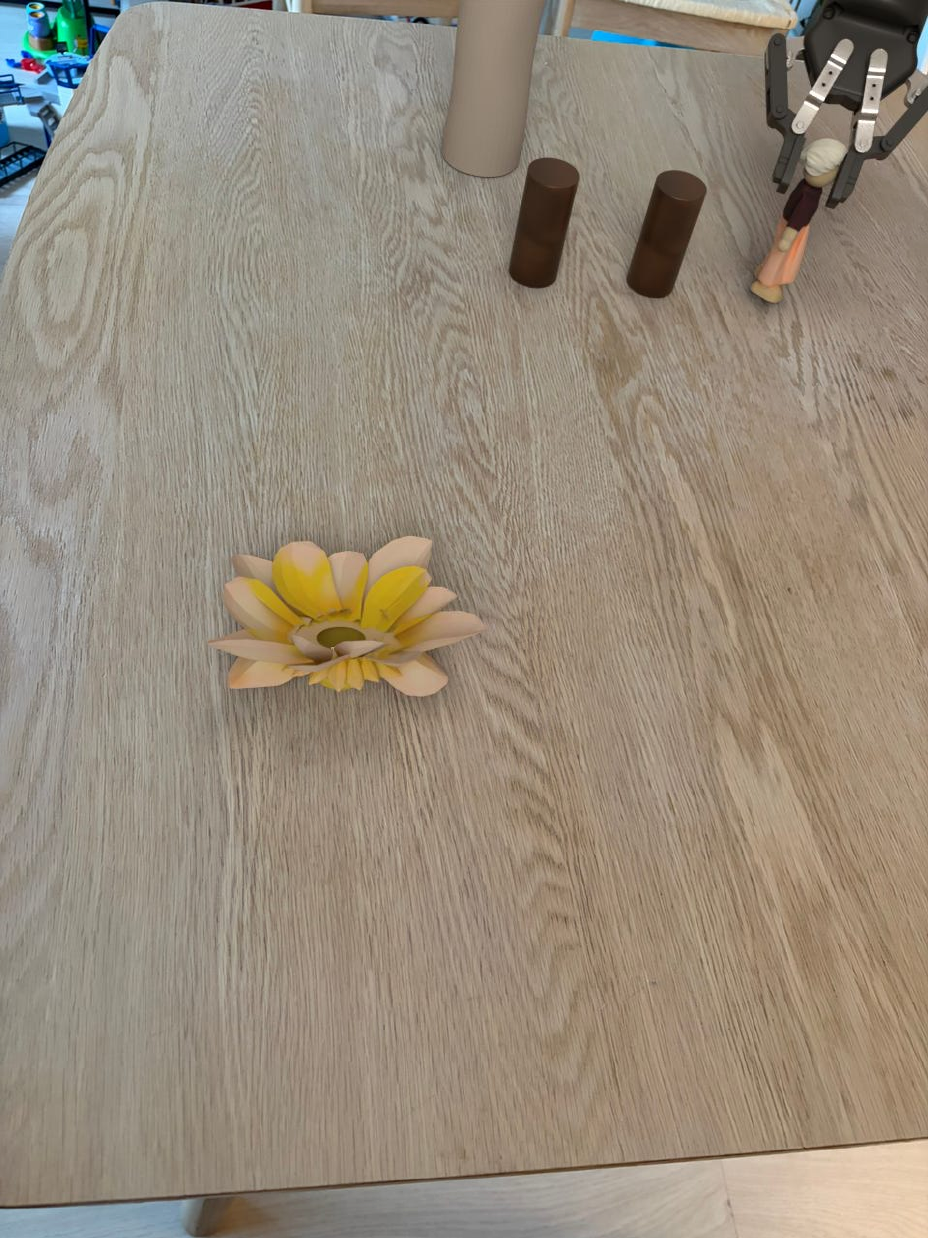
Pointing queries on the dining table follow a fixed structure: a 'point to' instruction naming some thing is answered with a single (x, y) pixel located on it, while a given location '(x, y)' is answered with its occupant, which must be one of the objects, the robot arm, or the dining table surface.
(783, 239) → the grandmother figurine
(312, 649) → the decorative flower
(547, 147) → the dining table surface
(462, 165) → the candle
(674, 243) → the marker row
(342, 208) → the dining table surface
